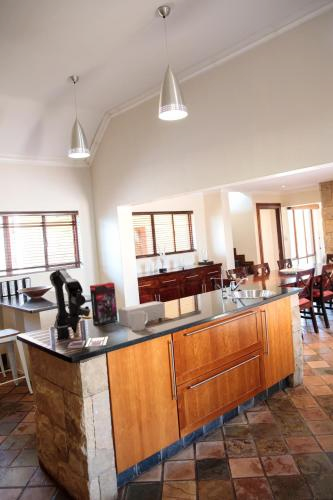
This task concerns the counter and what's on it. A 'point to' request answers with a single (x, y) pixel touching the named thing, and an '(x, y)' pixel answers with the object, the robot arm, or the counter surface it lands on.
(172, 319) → the counter surface
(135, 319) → the mug
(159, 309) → the light grey long box
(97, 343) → the sheet
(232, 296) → the counter surface
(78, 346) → the ink pad
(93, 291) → the graphics card box
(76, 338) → the stamp
